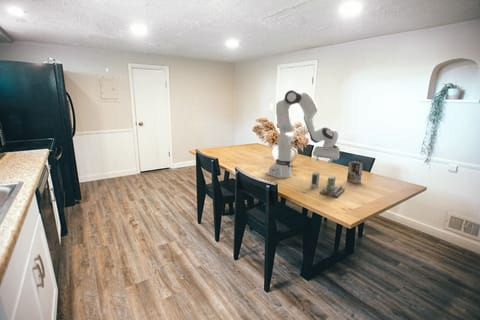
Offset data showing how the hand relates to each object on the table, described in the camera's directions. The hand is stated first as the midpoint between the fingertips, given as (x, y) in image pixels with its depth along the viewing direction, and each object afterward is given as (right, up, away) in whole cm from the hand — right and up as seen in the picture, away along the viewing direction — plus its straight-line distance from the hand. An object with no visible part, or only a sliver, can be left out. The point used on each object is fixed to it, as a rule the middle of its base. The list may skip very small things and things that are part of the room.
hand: (323, 161), depth 194 cm
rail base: (+2, -22, -15) cm, 27 cm away
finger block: (-8, -19, -6) cm, 22 cm away
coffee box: (+28, -16, +9) cm, 34 cm away
